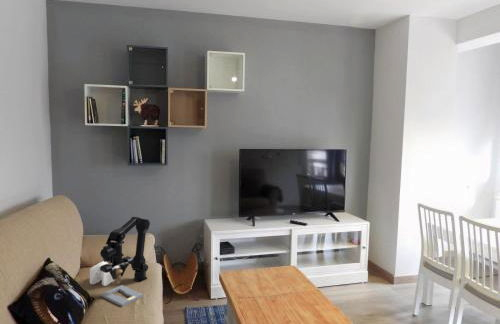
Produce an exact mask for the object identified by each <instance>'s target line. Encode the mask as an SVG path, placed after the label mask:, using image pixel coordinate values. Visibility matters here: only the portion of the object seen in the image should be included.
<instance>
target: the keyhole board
mask: <svg viewBox="0 0 500 324" xmlns="http://www.w3.org/2000/svg"><path fill="white" fill-rule="evenodd" d="M117 291H118V292H120V291H121V292H120V293H122V292H123V293H122V294H123V295H124V294H125V295H124V296H126V295H127V297H128V298H124V297H122V296H120V295H118V294H116V293H118V292H117ZM115 292H116V293H115ZM113 293H114V294H113ZM100 296H101V297H102V298H104V299H106V300H108V301H110V302H112V303H114V304H116V305H118V306H120V307H125V306H128V305H129V304H131V303H133V302H135V301H137V300H139V299H142V298H143V297H144V294H143V293H141V292H139V291H136V290H135V289H132V288H130V287H128V286H126V285H123V284H121V285H119V286H116V287H114V288H112V289H109V290H107V291H105V292H103V293H100Z"/></svg>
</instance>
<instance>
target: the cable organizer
mask: <svg viewBox="0 0 500 324" xmlns="http://www.w3.org/2000/svg"><path fill="white" fill-rule="evenodd" d="M105 264H108V265H111V264H112V263H109V262H108V263H107V262H104V261H103V260H102V261H100V262H99V263H97V264H95V265H93V266H91V267H90V269H89V284H90V285H97V284H98V283H100V281H101V285H102V286H103V287H104V286H105V287H107V286H109V285H110V284H111V283H113V282H115V280H113V279H112V276H111V274H110V272H107V273H105V272H103V271H100V267H101V266H102V265H105ZM115 268H120V265H118V266H115V267H114V269H115Z"/></svg>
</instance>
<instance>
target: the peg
mask: <svg viewBox="0 0 500 324" xmlns="http://www.w3.org/2000/svg"><path fill="white" fill-rule="evenodd" d="M115 270H116V273H115V281H114V284H115V285H116V284H121V283H122V277H121V273H122V272H123V270H122V268H120V267H119V268H115Z"/></svg>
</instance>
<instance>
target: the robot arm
mask: <svg viewBox="0 0 500 324" xmlns="http://www.w3.org/2000/svg"><path fill="white" fill-rule="evenodd" d="M150 225H151V222H150V220H149V219H148V218H147V219H146V218H141V217H139V216H132V217H130V219H129V220H128V221H127V222H125V223H124V224H123V225H122V226H121V227H119V228H116V229H114V230H112V231H111V232H110V233H109V235H108V237H107V240H106V242H105V246H103V247H102V249H101V251H100V252H99V253H100V256H101V258H102V261H104V262H107V263H108V264H105V265H102V266H101V267H100V271H103V272H105V273H107V272H110V274H111V276H112V279H113V280H115V273H116V270H115V269H114V267H115V266H118V265H119V268H122V270H123V272H122V273H121V278H122V277H123V276H124V275H125V272H126V270H127V269H128V267H129V265H130V267H131V269H132V271H134V278H133V280H134V281H136V282H138V283H141V282H143V281H145V280H147V279H148V277H147V271H148V270H149V265H148V264H146V258H145V256H144V252H145V245H146V243H145V242H146V235H147V231H149V229H150ZM133 228H135V229H136V232H137V237H136V247H135V255H134V256H133V257H130V256H128V255H127V256H124V255H125V254H124V253H123V244H124V243H125V241H124V239H125V238H126V236H127V234H129V232H130V231H131V230H132V229H133ZM110 264H111V265H110Z"/></svg>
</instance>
